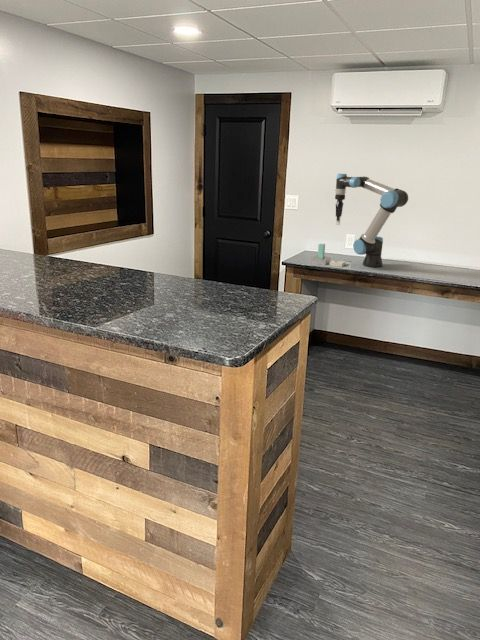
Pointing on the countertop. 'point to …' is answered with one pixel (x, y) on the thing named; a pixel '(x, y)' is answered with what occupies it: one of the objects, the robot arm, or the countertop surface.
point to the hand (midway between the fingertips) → (337, 224)
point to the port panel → (320, 260)
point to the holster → (337, 263)
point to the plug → (321, 251)
